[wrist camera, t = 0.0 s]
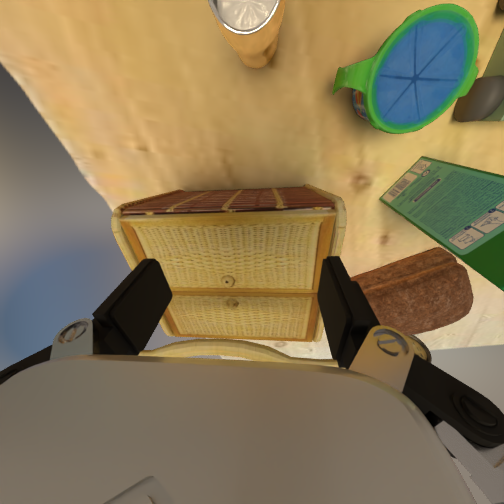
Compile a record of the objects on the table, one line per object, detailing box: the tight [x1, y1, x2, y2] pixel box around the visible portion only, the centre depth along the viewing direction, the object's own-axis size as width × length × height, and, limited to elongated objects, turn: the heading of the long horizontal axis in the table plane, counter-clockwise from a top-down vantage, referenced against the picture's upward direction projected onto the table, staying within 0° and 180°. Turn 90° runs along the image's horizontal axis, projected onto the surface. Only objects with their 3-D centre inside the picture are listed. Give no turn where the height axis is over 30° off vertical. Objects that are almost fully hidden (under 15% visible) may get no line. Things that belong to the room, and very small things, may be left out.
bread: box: [350, 248, 473, 336], centre depth 47 cm, size 17×29×11 cm, turn 123°
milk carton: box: [379, 156, 504, 291], centre depth 27 cm, size 9×9×25 cm
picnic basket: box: [111, 184, 346, 369], centre depth 32 cm, size 29×26×30 cm
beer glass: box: [208, 0, 285, 68], centre depth 21 cm, size 7×7×15 cm
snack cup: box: [332, 4, 479, 134], centre depth 25 cm, size 16×10×10 cm
